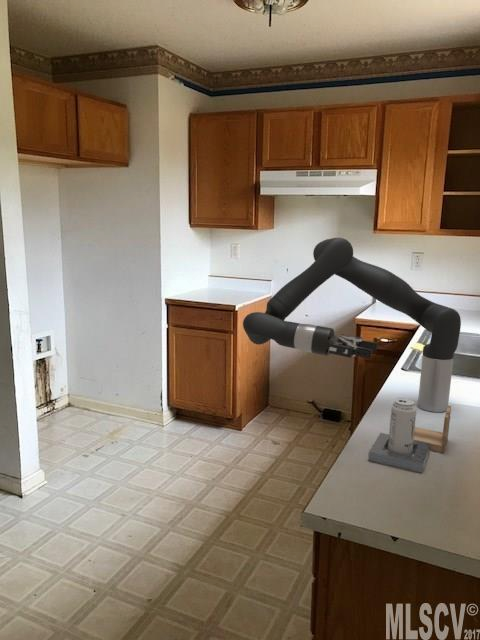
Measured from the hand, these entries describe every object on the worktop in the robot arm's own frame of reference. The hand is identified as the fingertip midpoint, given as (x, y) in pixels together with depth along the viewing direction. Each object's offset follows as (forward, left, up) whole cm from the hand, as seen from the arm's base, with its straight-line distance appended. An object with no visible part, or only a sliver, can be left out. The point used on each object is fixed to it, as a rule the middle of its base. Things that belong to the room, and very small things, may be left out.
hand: (374, 350), depth 135 cm
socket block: (+2, +9, -26) cm, 28 cm away
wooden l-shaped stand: (-10, +14, -26) cm, 32 cm away
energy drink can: (+2, +9, -27) cm, 28 cm away
